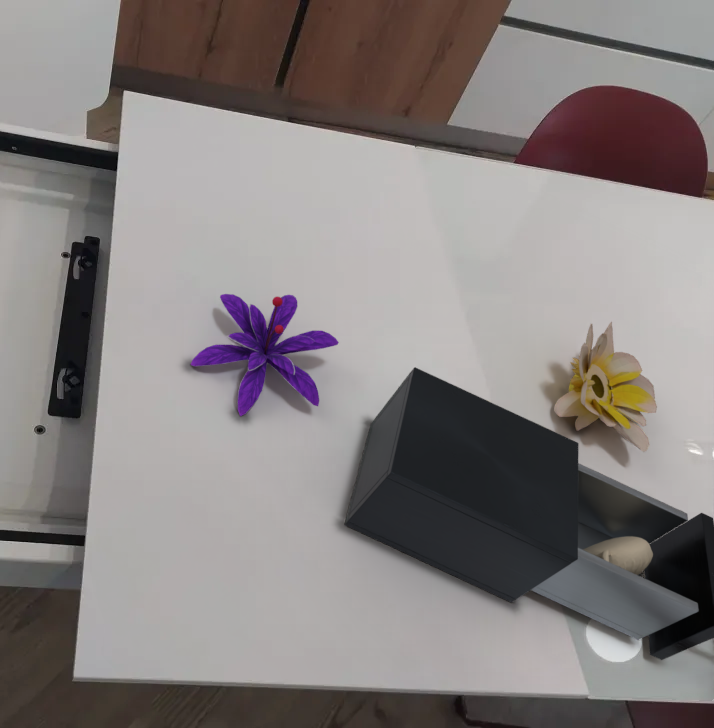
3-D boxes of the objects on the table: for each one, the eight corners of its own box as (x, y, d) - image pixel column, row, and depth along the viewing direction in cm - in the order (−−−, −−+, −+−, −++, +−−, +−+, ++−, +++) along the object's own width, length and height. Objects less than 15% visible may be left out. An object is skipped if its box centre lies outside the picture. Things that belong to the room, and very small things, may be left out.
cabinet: (519, 492, 75) (578, 442, 68) (511, 602, 67) (578, 559, 59) (370, 423, 75) (414, 366, 68) (344, 525, 67) (390, 472, 59)
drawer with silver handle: (719, 583, 74) (784, 550, 68) (734, 694, 66) (810, 668, 60) (512, 487, 74) (560, 446, 68) (504, 587, 66) (557, 551, 60)
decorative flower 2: (629, 480, 78) (678, 410, 71) (528, 425, 82) (566, 355, 76) (662, 414, 88) (707, 348, 81) (570, 368, 92) (606, 303, 86)
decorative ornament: (637, 579, 70) (679, 556, 66) (577, 603, 66) (616, 580, 62) (611, 540, 72) (649, 515, 68) (550, 561, 68) (587, 536, 64)
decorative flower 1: (352, 328, 78) (372, 289, 72) (299, 448, 71) (315, 418, 65) (233, 275, 80) (242, 232, 73) (170, 388, 73) (173, 352, 66)
